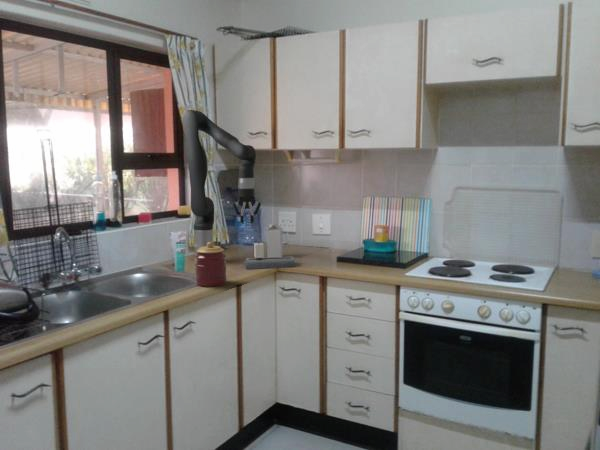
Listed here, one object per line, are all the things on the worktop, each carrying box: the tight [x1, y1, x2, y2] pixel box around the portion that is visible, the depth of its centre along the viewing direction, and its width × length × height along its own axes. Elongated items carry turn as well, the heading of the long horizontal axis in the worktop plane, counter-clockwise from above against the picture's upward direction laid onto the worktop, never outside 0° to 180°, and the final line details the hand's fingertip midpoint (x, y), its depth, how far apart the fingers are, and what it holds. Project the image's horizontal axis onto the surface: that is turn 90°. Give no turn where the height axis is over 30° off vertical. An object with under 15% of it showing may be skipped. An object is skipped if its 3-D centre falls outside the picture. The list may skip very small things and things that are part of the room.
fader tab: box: [253, 242, 265, 260], centre depth 253 cm, size 4×5×9 cm
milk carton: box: [266, 220, 284, 257], centre depth 276 cm, size 7×7×19 cm
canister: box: [194, 242, 228, 288], centre depth 218 cm, size 13×13×18 cm
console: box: [243, 255, 297, 270], centre depth 255 cm, size 24×12×4 cm, turn 101°
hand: (247, 223), depth 250 cm, fingers open, 3 cm apart
